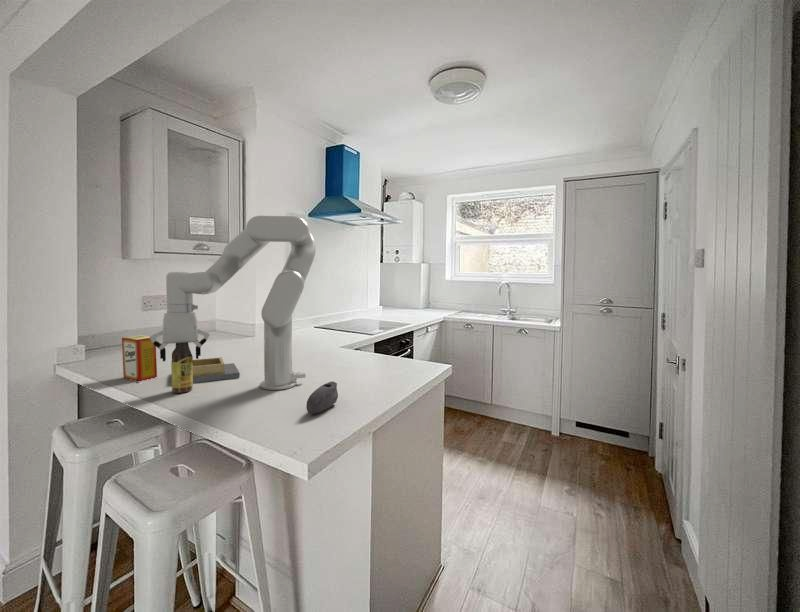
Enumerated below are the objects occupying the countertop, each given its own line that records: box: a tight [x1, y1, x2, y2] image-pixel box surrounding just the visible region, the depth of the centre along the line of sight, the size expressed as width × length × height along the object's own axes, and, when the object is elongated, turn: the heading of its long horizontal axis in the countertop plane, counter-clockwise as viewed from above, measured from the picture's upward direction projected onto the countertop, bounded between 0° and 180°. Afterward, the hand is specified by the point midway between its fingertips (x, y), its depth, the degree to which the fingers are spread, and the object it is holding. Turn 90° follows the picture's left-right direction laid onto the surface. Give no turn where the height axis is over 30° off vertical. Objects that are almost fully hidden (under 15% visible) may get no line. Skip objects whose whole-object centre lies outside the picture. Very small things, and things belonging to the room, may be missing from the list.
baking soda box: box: [121, 334, 158, 382], centre depth 142 cm, size 10×6×16 cm
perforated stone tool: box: [306, 380, 339, 415], centre depth 112 cm, size 15×5×7 cm, turn 158°
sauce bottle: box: [170, 342, 194, 394], centre depth 127 cm, size 6×6×20 cm
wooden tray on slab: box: [193, 356, 240, 384], centre depth 147 cm, size 22×18×6 cm
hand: (181, 359), depth 127 cm, fingers open, 9 cm apart
